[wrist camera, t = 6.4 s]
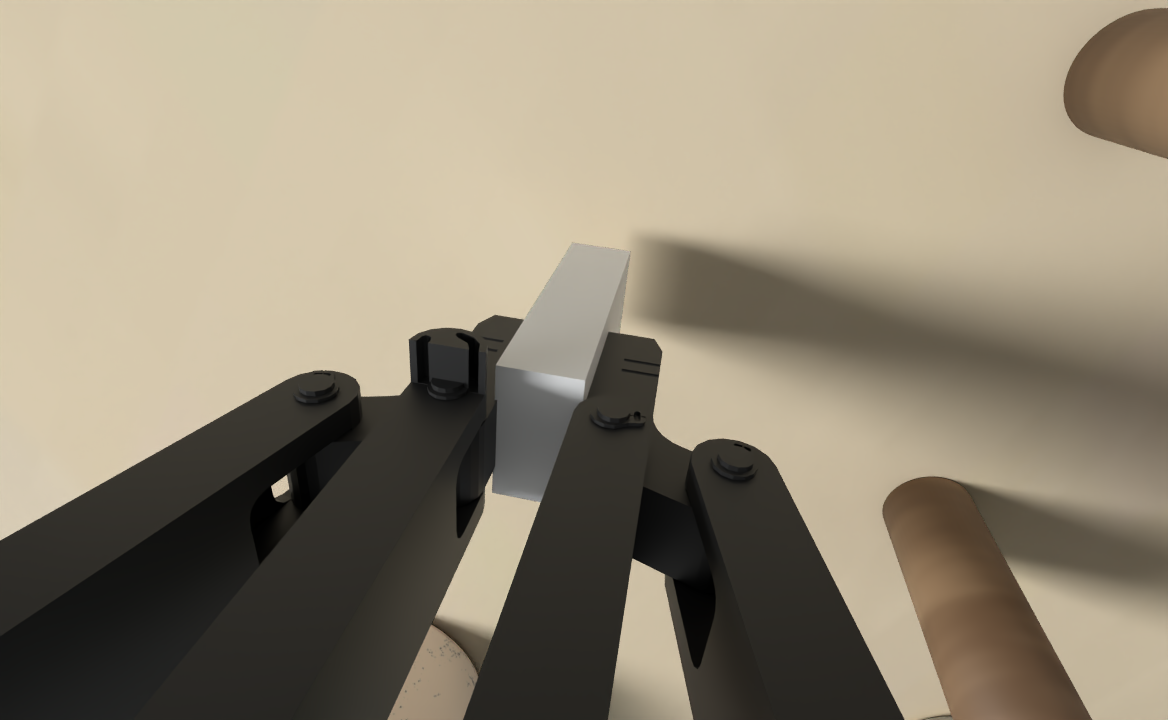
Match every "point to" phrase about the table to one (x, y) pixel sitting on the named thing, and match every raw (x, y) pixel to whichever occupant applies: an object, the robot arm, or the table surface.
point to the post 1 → (974, 610)
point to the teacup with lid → (436, 682)
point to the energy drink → (941, 718)
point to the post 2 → (1123, 83)
